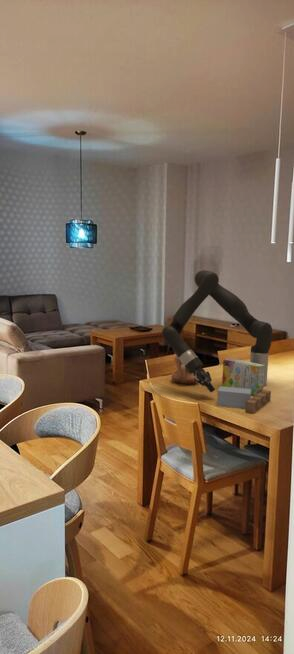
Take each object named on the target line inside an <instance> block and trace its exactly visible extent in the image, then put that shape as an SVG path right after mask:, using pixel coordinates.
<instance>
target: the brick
mask: <svg viewBox="0 0 294 654" xmlns="http://www.w3.org/2000/svg"><path fill="white" fill-rule="evenodd" d="M251 396H252V395H251V389H244V388H233V387H223V386H222V385H220V386H219V387H218V390H217V402H216V403H217V406H218V407H226V408H227V407H228V408H236V409H245V405H246V401H248V400H249V399H251V398H252V397H251ZM217 406H216V407H217Z"/></svg>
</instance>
